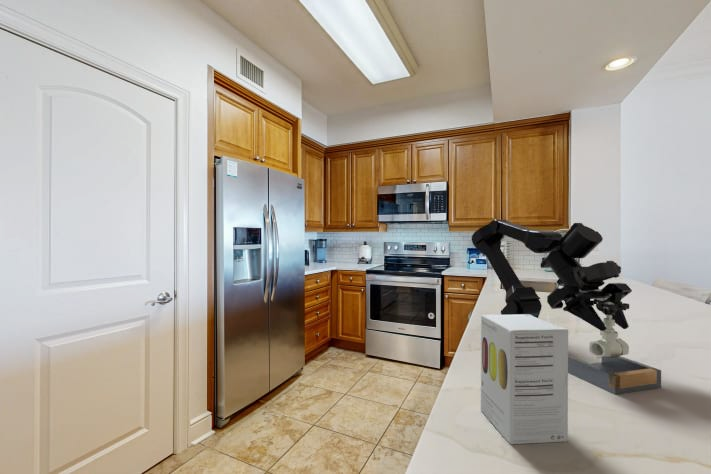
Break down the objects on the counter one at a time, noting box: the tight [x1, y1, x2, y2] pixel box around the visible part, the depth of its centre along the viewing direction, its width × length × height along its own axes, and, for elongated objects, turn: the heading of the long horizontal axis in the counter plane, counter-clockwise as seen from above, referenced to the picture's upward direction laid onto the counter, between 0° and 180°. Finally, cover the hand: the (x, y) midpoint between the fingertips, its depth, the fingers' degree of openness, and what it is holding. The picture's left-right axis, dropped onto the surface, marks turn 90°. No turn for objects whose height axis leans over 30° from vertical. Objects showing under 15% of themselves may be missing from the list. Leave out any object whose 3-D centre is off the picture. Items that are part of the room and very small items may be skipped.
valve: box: [588, 299, 630, 359], centre depth 67 cm, size 7×7×12 cm
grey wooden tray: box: [568, 354, 662, 395], centre depth 67 cm, size 11×12×4 cm
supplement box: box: [480, 314, 569, 445], centre depth 50 cm, size 10×9×17 cm
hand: (615, 329), depth 66 cm, fingers closed on valve, 6 cm apart
